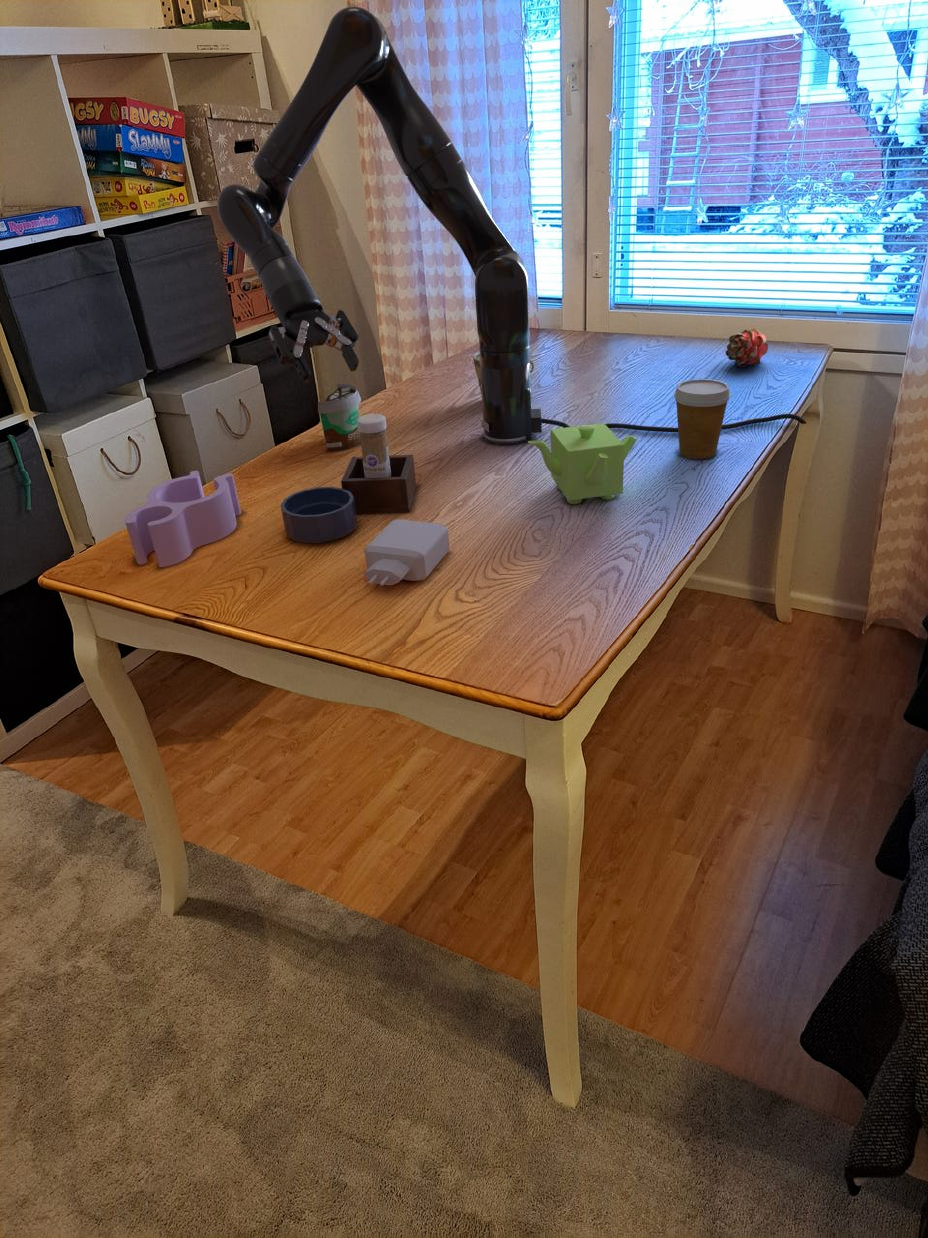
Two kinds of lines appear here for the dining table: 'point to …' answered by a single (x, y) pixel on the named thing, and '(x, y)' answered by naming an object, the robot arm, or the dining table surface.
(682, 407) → the disposable coffee cup
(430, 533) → the charger
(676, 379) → the dining table surface
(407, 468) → the box
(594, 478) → the kettle
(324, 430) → the food container
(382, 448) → the sprinkles bottle
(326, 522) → the bowl
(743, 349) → the dragon fruit
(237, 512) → the clip
